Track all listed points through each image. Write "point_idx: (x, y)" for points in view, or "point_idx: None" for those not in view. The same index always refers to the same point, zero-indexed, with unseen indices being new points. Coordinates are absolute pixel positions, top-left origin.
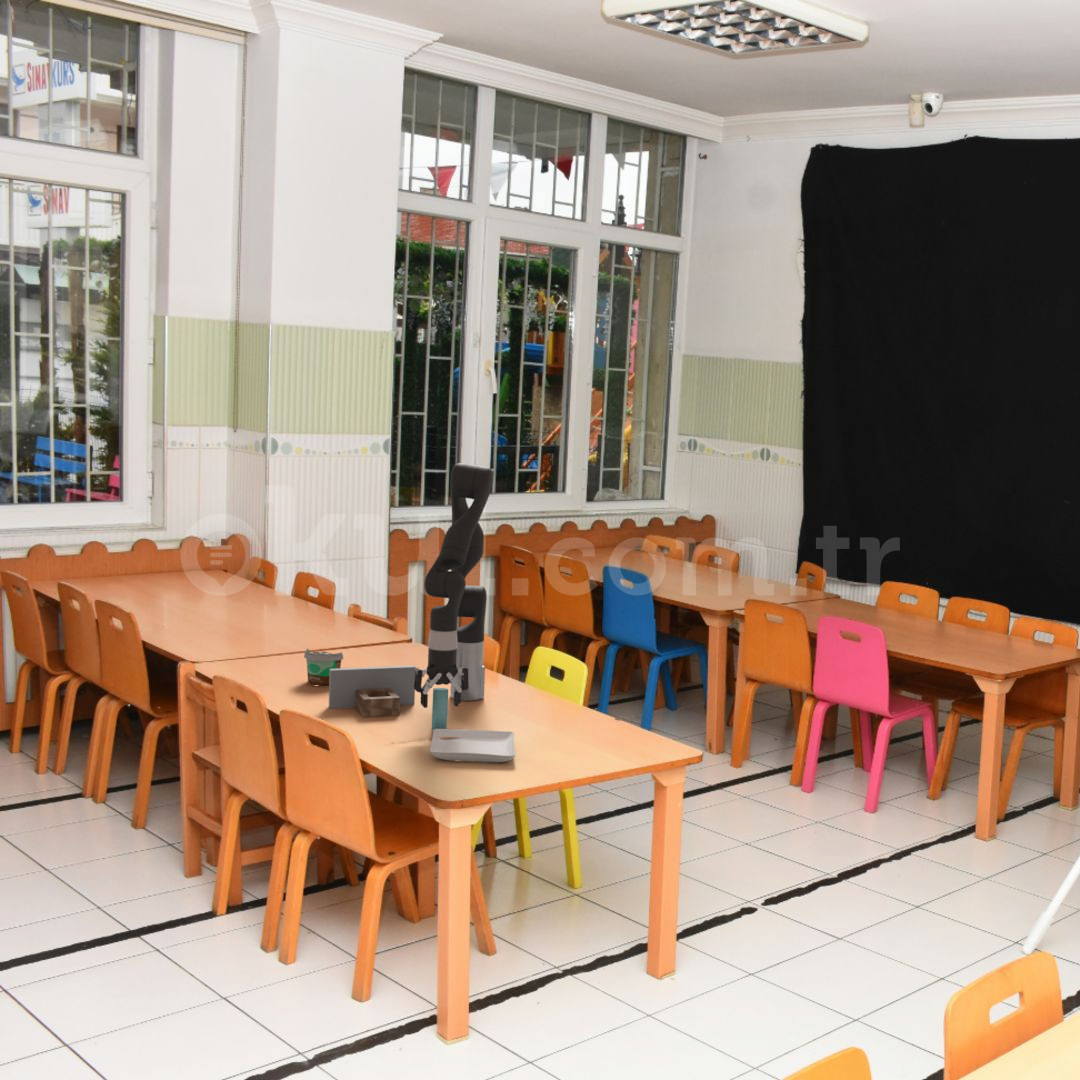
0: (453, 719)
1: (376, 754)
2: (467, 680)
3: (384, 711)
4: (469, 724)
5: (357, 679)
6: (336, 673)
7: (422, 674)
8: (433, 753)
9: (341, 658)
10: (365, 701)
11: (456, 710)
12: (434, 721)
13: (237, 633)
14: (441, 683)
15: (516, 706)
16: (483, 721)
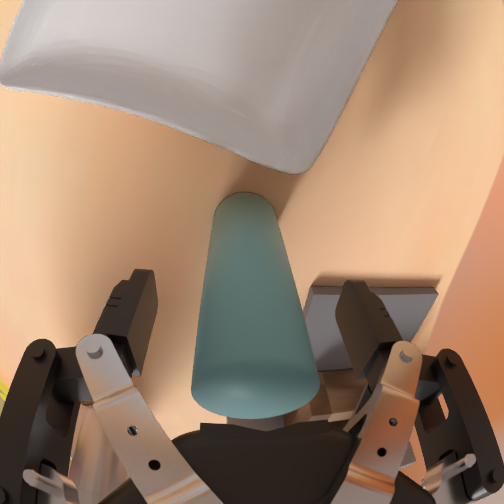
0: (149, 340)
1: (501, 103)
2: (10, 404)
3: (344, 380)
4: (108, 292)
5: None
6: (405, 459)
7: (462, 472)
8: None
9: None
10: None
11: (133, 383)
12: (281, 236)
13: None
14: (280, 435)
15: (21, 358)
16: (69, 303)
